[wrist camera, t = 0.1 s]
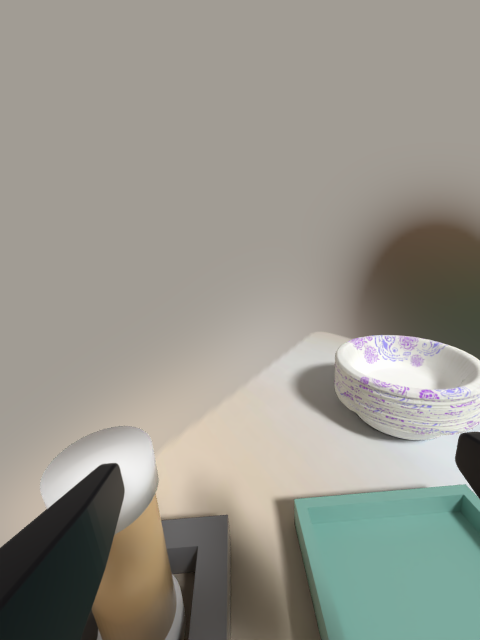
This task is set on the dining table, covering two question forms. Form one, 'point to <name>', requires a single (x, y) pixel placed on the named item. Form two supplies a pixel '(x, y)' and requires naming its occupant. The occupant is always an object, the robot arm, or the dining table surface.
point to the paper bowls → (409, 385)
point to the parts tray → (393, 563)
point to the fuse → (126, 537)
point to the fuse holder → (198, 574)
